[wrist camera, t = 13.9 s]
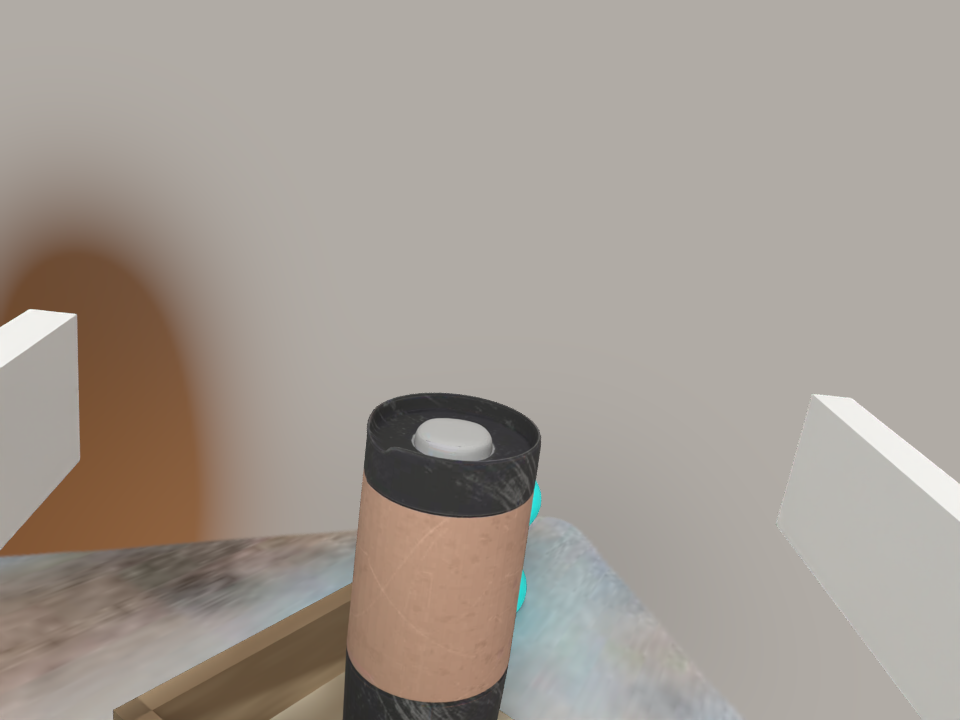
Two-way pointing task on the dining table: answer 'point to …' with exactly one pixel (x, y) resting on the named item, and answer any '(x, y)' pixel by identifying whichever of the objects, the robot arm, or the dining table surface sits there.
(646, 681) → the dining table surface
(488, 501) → the travel mug
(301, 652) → the corner tray
